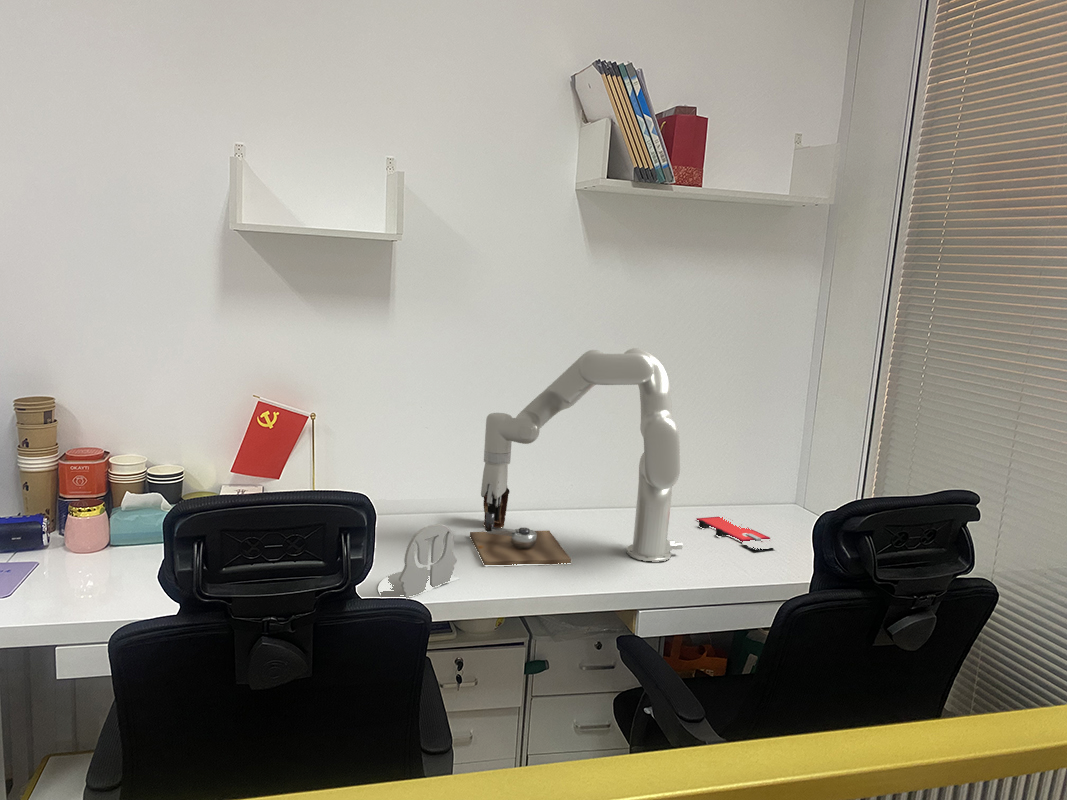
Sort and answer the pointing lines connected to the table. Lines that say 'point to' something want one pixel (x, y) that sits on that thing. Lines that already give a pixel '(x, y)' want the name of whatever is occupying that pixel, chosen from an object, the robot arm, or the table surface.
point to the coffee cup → (503, 508)
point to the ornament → (424, 563)
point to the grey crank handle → (511, 533)
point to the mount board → (518, 550)
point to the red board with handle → (731, 529)
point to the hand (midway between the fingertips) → (493, 519)
